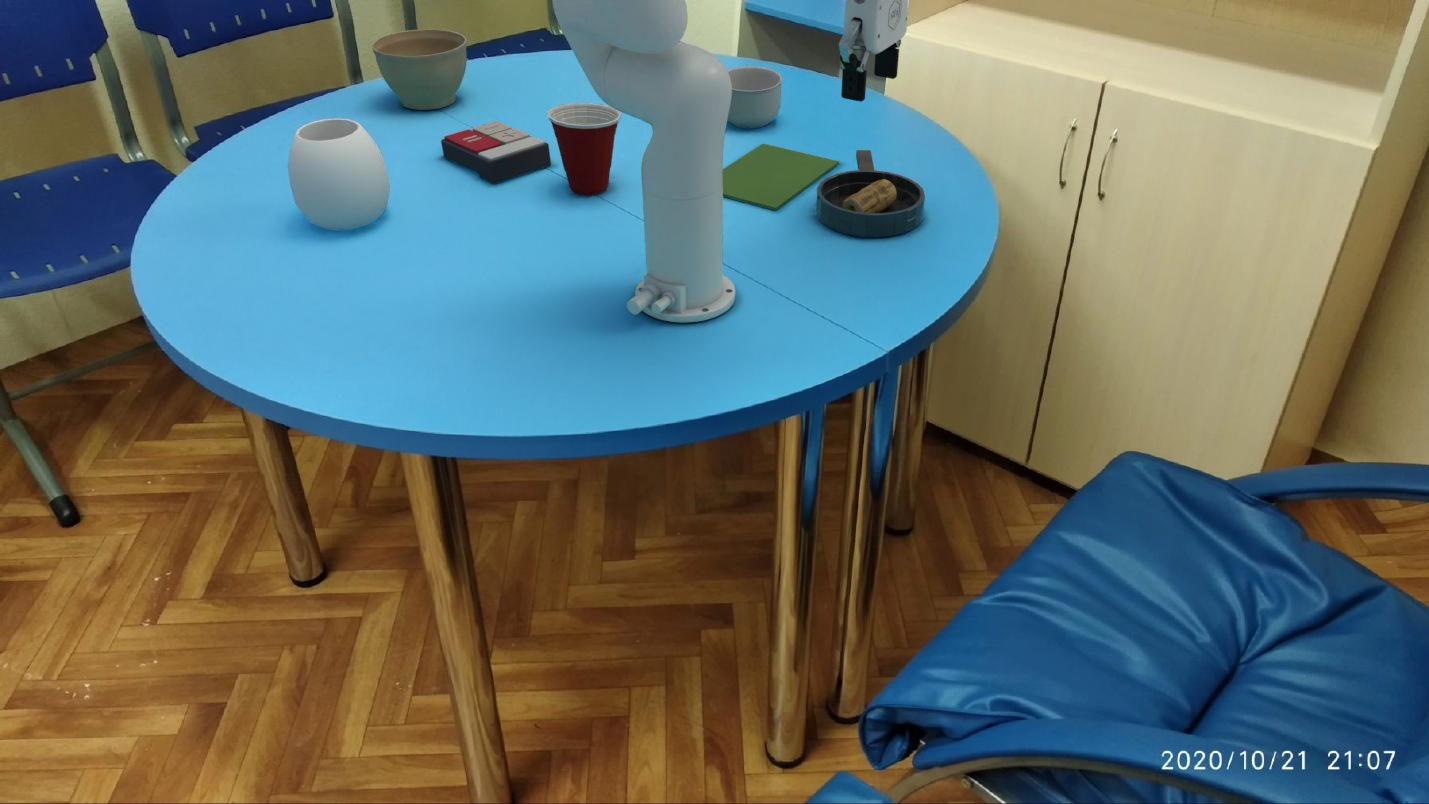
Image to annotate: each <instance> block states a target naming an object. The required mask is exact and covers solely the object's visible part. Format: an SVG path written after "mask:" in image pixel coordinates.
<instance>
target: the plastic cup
mask: <svg viewBox="0 0 1429 804" xmlns="http://www.w3.org/2000/svg"><path fill="white" fill-rule="evenodd" d="M621 113H622V112H620V111H618V110H616V109H614V108H612V107H610V106H609V105H604V104H601V103H590V102H580V103H579V102H578V103H577V102H576V103H573V102H572V103H567V104H560V105H557V106H554V107H551V108H550V109H549V110H548V111H547V112H546V114H547V118H548V121H550V123H551V127H552V129H553V133H554V136H555V138H556V142H557V146H558V150H559V154H560V158H561V162H562V166H563V171H564V172H565V176H566V179H567V183H568V187H569V189H570V191H571V193H573V194H574V195H578V196H583V197H591V196H598V195H601V194H603V193H605V192H607V190H608V188H609V185H610V176H611V168H612V162H613V153H614V146H615V137H616V132H617V128H618V125H619V121H620V120H621V119H622V117H623V116H622V114H621Z"/></svg>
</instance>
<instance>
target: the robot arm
mask: <svg viewBox="0 0 1429 804" xmlns="http://www.w3.org/2000/svg"><path fill="white" fill-rule="evenodd" d="M551 2H552V8H553V11H554V15H555V19H556V21H557V23H558V25H559V27H560V29H561V32H562V34H563V36H564V38H565V39H566V41H567V43H568V45H569V47H570V49H571V50H572V52H573V54H574V56H575V58H576V60H577V62H578V64H579V66H580V67H581V70H582V71H583V73H584V75H585V77H586V79H587V81H588V82H589V84H590V86H591V88H592V89H593V90H594V92H595V93H596V95H597V96H598V97H599V98H600V100H602V102H604V104H606V106H609V107H612V108H614V109H616V110H618V111H620V113H623V114H625V115H626V116H627V115H628V116H630V117H633V118H635V119H637V120H640V121H642V122H644V123H646V124H648V125H650V127H651V128H652V133H651V134H652V135H651V137H650V140H649V142H648V144H647V146H646V148H645V150H644V153H643V155H642V161H641V168H640V169H641V172H640V173H641V174H640V175H641V189H642V210H643V230H644V231H643V232H644V245H645V247H644V249H645V251H644V252H645V267H646V268H645V269H646V270H645V271H646V274H645V275H643V278H642V279H640V281H639V283H638V284H637V285H636V287H635V292H634V296H633V297H631V298H630V299H628V300H627V302H626V308H627V310H628V312H629V313H630V314H632V315H638V314H640V313H641V312H643V313H644V314H647V315H648V316H650V317H652V318H655V319H657V320H661V321H664V322H670V323H679V324H680V323H681V324H682V323H683V324H685V323H687V324H688V323H698V322H703V321H707V320H712V319H714V318H717V317H719V316H721V315H723V314H725V313H726V312H727V311H728V310H729V309H731V308H732V306H733V305H734V303H735V301H736V287H735V284H734V283H733V281H732V280H731V279H730V278H729V277H728V276H726V275H724V197H723V169H724V143H725V135H726V129H727V123H728V120H727V118H728V114H729V109H730V104H731V96H732V85H731V79H730V76H729V74H728V71H727V67H725V65H724V63H723V62H722V61H721V60H720V59H719V58H718V57H717V56H715V55H714V54H712V53H711V52H709V51H707V50H706V49H704V48H701V47H699V46H697V45H694V44H691V43H688V42H684V41H681V40H682V39H683V37H684V35H685V33H686V30H687V27H688V20H689V19H688V17H689V16H688V7H687V2H686V0H551ZM908 11H909V0H845V7H844V18H843V35H842V37H841V38H840V40H839V43H838V48H839V54H840V55H839V61H840V62H841V64H840V68H841V69H842V72H841V73H842V75H841V92H840V93H841V98H842V99H845V100H851V101H855V102H864V101H865V99H866V90H867V74H868V71H867V70H866V69H865V67H866V65H867V62H868V58H869V56H870V53H872V54H873V55H874V57H875V58H874V69H873V72H874V73H873V74H874V76H876V77H880V78H885V79H890V80H891V79H892V80H894V79H896V78H897V77H898V69H899V57H900V47H901V44H902V38H904V37H905V35H906V33H907V31H908V29H907V28H908V15H909V14H908V13H909V12H908ZM856 53H857V54H860V55H859V58H858V56H857V55H856Z"/></svg>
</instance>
